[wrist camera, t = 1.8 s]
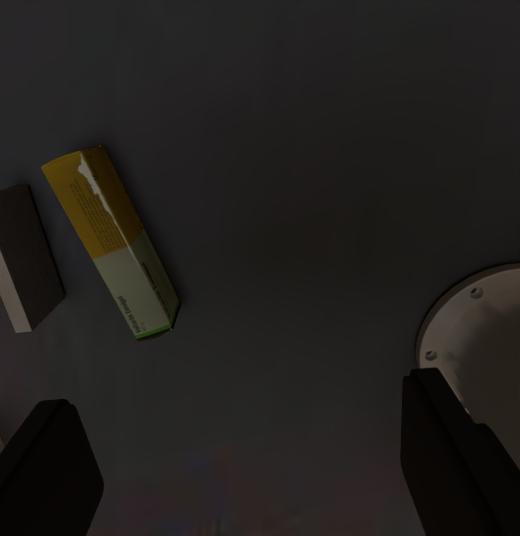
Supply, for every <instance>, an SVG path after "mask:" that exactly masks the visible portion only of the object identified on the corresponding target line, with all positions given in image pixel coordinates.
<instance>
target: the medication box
mask: <svg viewBox="0 0 520 536" xmlns="http://www.w3.org/2000/svg"><path fill="white" fill-rule="evenodd" d="M41 169H42V171H43V173H44V174H45V176H46V178H47V180H48V181H49V183H50V185H51V187H52V189H53V190H54V192H55V194H56V196H57V198H58V199H59V201H60V203H61V205H62V207H63V208H64V210H65V212H66V214H67V215H68V217H69V219H70V221H71V223H72V224H73V226H74V228H75V230H76V232H77V233H78V235H79V237H80V239H81V241H82V242H83V244H84V246H85V248H86V249H87V251H88V253H89V255H90V257H91V258H92V260H93V262H94V264H95V265H96V267H97V269H98V271H99V273H100V274H101V276H102V278H103V280H104V281H105V283H106V285H107V287H108V289H109V290H110V292H111V294H112V296H113V298H114V300H115V301H116V303H117V305H118V307H119V308H120V310H121V312H122V314H123V316H124V317H125V319H126V321H127V323H128V325H129V326H130V328H131V330H132V332H133V333H134V335H135V337H136V339H137V341H138V342H144V341H147V340H151V339H154V338H157V337H159V336H162V335H164V334H166V333H169V332H171V331H172V330H173V329H174V325H175V322H176V319H177V316H178V313H179V310H180V307H181V303H180V301H179V299H178V297H177V295H176V293H175V291H174V289H173V287H172V285H171V282H170V280H169V278H168V276H167V274H166V272H165V270H164V268H163V266H162V264H161V262H160V260H159V258H158V256H157V254H156V252H155V249H154V247H153V246H152V244H151V242H150V240H149V238H148V235H147V233H146V231H145V229H144V227H143V225H142V223H141V221H140V219H139V217H138V215H137V213H136V211H135V209H134V207H133V205H132V203H131V201H130V199H129V197H128V195H127V193H126V191H125V189H124V187H123V185H122V183H121V180H120V178H119V176H118V174H117V172H116V170H115V168H114V166H113V164H112V162H111V160H110V158H109V156H108V154H107V152H106V150H105V148H104V147H102V145H101V144H99V146H96V147H92V148H87V149H84V150H80V151H77V152H73V153H70V154H67V155H64V156H62V157H59V158H57V159H55V160H53V161H51V162H49V163H47V164H45V165H43V166H41Z"/></svg>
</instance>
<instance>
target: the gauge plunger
mask: <svg viewBox="0 0 520 536" xmlns="http://www.w3.org/2000/svg"><path fill="white" fill-rule="evenodd" d="M0 295H1V297H2V300H3V302H4V305H5V307H6V310H7V312H8V314H9V317H10V319H11V322H12V324H13V327H14V329H15V332H16V333H19V332H30V331H33V330H34V329H35V328H36V327H37V326H38V325H39V324H40V323H41V322H42V321H43V320H44V319H45V318H46V317H47V316H48V315H49V314H50V313H51V312H52V311H53V310H54V309H55V308H56V307H57V306H58V304H59V303H60V302H61V301H62V300H63V299H64V298H65V296H64V293H63V290H62V287H61V284H60V281H59V278H58V275H57V272H56V269H55V266H54V263H53V260H52V257H51V254H50V251H49V249H48V246H47V243H46V240H45V237H44V234H43V231H42V228H41V225H40V222H39V219H38V216H37V213H36V210H35V207H34V204H33V201H32V198H31V195H30V193H29V190H28V187H27V185H22V186H13V187H9V188H6V189H4V190H1V191H0Z"/></svg>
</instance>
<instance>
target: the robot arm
mask: <svg viewBox="0 0 520 536" xmlns="http://www.w3.org/2000/svg"><path fill="white" fill-rule="evenodd" d="M415 354H416V361H417V367H418V369H412V370H411V372H410V376H404V377H403V391H402V423H401V455H400V459H401V467H402V471H403V474H404V477H405V480H406V483H407V485H408V488H409V491H410V494H411V496H412V499H413V502H414V504H415V507H416V510H417V512H418V515H419V518H420V521H421V523H422V526H423V529H424V531H425V534H426V536H520V263H516V264H506V265H502V266H498V267H494V268H490V269H486V270H484V271H482V272H480V273H477V274H475V275H473V276H470V277H469V278H467V279H465V280H464V281H462V282H461V283H459V284H457V285H456V286H454V287H453V288H452V289H451V290H449V291H448V292H447V293H446V294H445V295H444V296H443V297H441V298H440V299H439V301H438V302H437V303H436V304H435V305H434V307H433V308H432V309H431V310H430V311H429V313H428V315H427V317H426V318H425V320H424V322H423V324H422V325H421V328H420V331H419V334H418V337H417V343H416V352H415ZM468 414H470V415H471V416H472V418H473V419H474V421H475V422H476V424H474V423H473V421H472V419H471V418H470V416H469V415H468ZM103 489H104V482H103V478H102V475H101V473H100V470H99V467H98V465H97V462H96V459H95V457H94V454H93V451H92V449H91V446H90V443H89V441H88V438H87V435H86V433H85V430H84V427H83V425H82V422H81V419H80V417H79V414H78V411H77V409H76V407H75V406H74V405H73V404H70V403H69V401H67V400H66V399H57V400H45V401H41V402H39V403H38V404H37V405H36V406H35V407H34V409H33V410H32V411H31V413H30V414H29V415H28V417H27V418H26V419H25V421H24V422H23V424H22V425H21V426H20V428H19V429H18V430H17V432H16V433H15V434H14V436H13V437H12V438H11V440H10V441H9V442H8V444H7V445H6V446H5V448H4V449H3V450H2V452H1V453H0V536H86V534H87V532H88V529H89V527H90V524H91V522H92V519H93V517H94V515H95V512H96V510H97V507H98V505H99V502H100V500H101V497H102V494H103Z"/></svg>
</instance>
